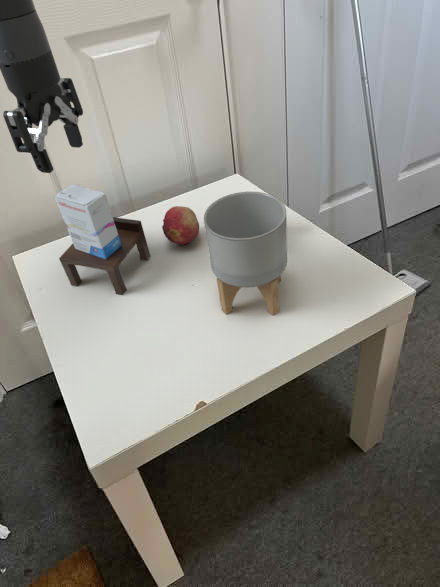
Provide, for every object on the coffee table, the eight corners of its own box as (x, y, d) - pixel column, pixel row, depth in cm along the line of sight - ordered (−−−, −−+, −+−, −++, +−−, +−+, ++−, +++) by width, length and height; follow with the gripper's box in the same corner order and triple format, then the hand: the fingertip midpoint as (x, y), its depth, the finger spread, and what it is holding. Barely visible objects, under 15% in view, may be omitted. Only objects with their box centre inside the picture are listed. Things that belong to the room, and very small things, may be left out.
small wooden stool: (123, 295, 88) (110, 259, 82) (71, 285, 92) (55, 250, 85) (150, 256, 96) (140, 220, 89) (101, 248, 99) (89, 213, 93)
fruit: (203, 249, 95) (198, 217, 90) (167, 256, 95) (159, 224, 89) (199, 228, 101) (194, 197, 95) (165, 234, 101) (157, 203, 95)
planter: (302, 295, 82) (304, 212, 70) (247, 332, 77) (238, 250, 65) (255, 262, 90) (249, 182, 78) (203, 294, 86) (187, 214, 73)
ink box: (123, 245, 88) (106, 191, 79) (106, 260, 85) (86, 206, 77) (91, 234, 91) (72, 181, 83) (74, 248, 89) (51, 195, 80)
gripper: (32, 36, 70) (68, 137, 81) (-34, 69, 60) (16, 179, 71) (73, 35, 67) (104, 140, 78) (10, 69, 58) (56, 183, 69)
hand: (62, 158), depth 75 cm, fingers open, 8 cm apart
